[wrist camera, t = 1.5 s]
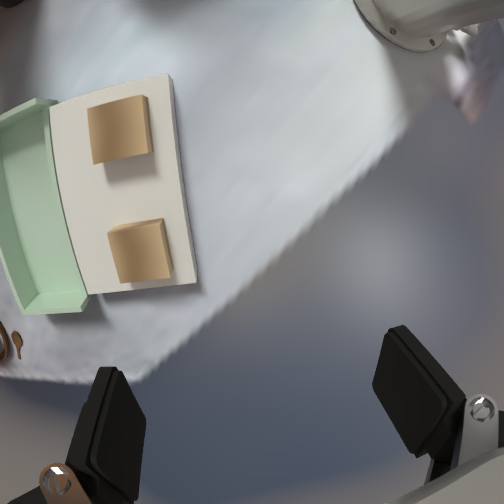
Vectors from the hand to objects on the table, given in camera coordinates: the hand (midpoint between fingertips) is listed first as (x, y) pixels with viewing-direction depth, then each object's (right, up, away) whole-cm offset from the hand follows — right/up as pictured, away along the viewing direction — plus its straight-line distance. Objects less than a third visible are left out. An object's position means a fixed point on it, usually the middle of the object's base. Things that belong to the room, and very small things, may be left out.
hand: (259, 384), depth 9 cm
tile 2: (-9, +5, +15) cm, 18 cm away
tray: (-22, +9, +14) cm, 28 cm away
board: (-12, +10, +15) cm, 22 cm away
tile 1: (-10, +14, +11) cm, 21 cm away
